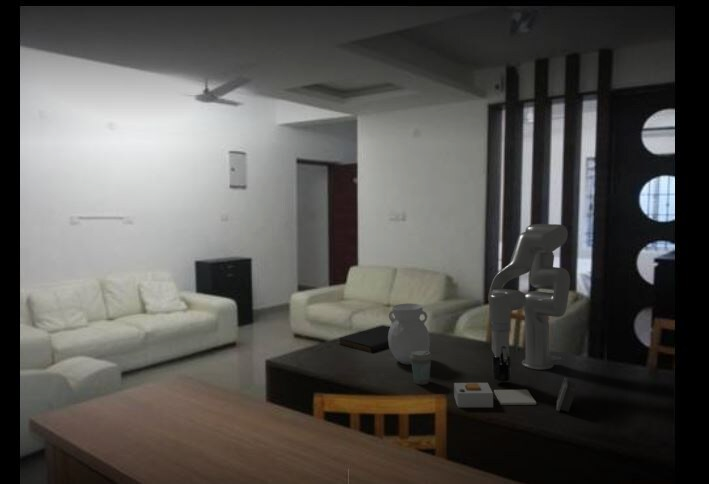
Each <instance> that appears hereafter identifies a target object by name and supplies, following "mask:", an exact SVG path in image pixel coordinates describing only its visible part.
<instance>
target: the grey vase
mask: <svg viewBox="0 0 709 484" xmlns="http://www.w3.org/2000/svg"><path fill="white" fill-rule="evenodd" d="M423 308H424V307H423V306H422V305H420V304H419V303H401V304H395V305H393V306H392V310H391V311H390V312H389V314H388V318H389V320H390V322H391V324H390V326H389V327H390V329H389V333H388V343H389V347H388V348H389V350H390V353H391V354H392V355H393V357H394V359H396V360H397V361H398V362H399V363H400V364H403V365H412V363H411V358H410V355H411V352H412V351H414V350H427V351H430V348H431V347H430V346H431V345H430V344H431V339H430V333H429V330H428V327H427V326H426V324H425V323H426V321H427V320H428V314H427V312H426V311H424V310H423ZM422 315H423V316H424V319H422V320H421V319H420V316H422Z"/></svg>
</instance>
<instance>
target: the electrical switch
mask: <svg viewBox="0 0 709 484" xmlns="http://www.w3.org/2000/svg"><path fill="white" fill-rule="evenodd" d="M575 394H576V383H575V382H572V381H569V380H568V378H567V377H563V379H562V383H561V386H560V389H559V391H558V396H557V398H556V411H557V412H560V411H563V412H567V413H569V412H570V409H571V406H572V403H573V401H574V397H575Z"/></svg>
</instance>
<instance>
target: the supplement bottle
mask: <svg viewBox="0 0 709 484" xmlns="http://www.w3.org/2000/svg"><path fill="white" fill-rule="evenodd" d="M500 356H503V355H500ZM491 358H492V359H491V363H492V366H491V367H492V378H493V379H494V380H495V381H499V382H508V381H510V380H511V379H512V368H511V366H512V364H511V356H510V355H509V356H508V357H507V361H508V374H507V375H500V374H499V364H500V361H499V357H496V356H495V355H494V354H493V355H492V356H491ZM502 359H503V358H501V361H502Z"/></svg>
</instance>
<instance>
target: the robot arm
mask: <svg viewBox="0 0 709 484" xmlns="http://www.w3.org/2000/svg"><path fill="white" fill-rule="evenodd" d="M568 233H569V232H568V229H567V227H566V226H565V225H562V224H556V223H555V224H553V223H551V224H550V223H547V224H546V223H545V224H544V223H536V224H535V223H534V224H529V225H528V226H527V227H526V228H525V231H524V232H522V233H520V234H519V235H518V237H517V239H516V242H515V245H514V248H513V252H512V255H511V257H510V261H509V263H508V264H507V265H506V266H505V267H503V268H502V269H501V270H499V271H498V273H496V275H495V276H494V278H493V279H492V282H491V285H490V286H489V291H488V294H487V295H488V296H487V301H488V306H489V308H488V309H489V329H490V331H491V351H492V353H493V355H495V356H496V357H499V361H500V364H499V374H500V375H507V374H508V361H507V357H508V356H510V341H509V331H511V311H518V310H521V309H522V308H523V312H524V320H525V321H524V323H525V327H524V328H525V330H524V332H525V333H524V335H525V337H524V338H525V339H524V340H525V358H524V359H522V361H521V364H522V366H523V367H525V368H527V369H531V370H538V371H539V370H541V371H542V370H549V369H552V368H553V367H554V362H562V357H561V356H556V355H551V354H550V323H549V320H548V319H547V317H554V318H559V317H563V316H564V315H565V314H566V311H567V308H568V300H569V293H570V287H571V276H570V273H569V271H568V270H567V269H566V268H564V267H559V266H558V267H557V266H556V267H555V266H554V262H555V255H554V251H556V250H557V249H559V248H560V247H562V246H563V245H564V244H565V243H566V242H567V239H568V235H569V234H568ZM528 273H530V276H529V283H530V285H531V286H532V287H533V288H535V289H541V290H550V291H551V290H552V291H553V292H546V291H536V290H532V291H528V292H526V293H524V292H522V291H520V290H516V289H508V288H504V286H505V285H506V284H507V283H508V282H509V281H511V280H513V279H515V278H518V277H520V276H521V277H522V276H523V275H526V274H528ZM500 355H503V356H500ZM501 358H503V359H502V361H501Z"/></svg>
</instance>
